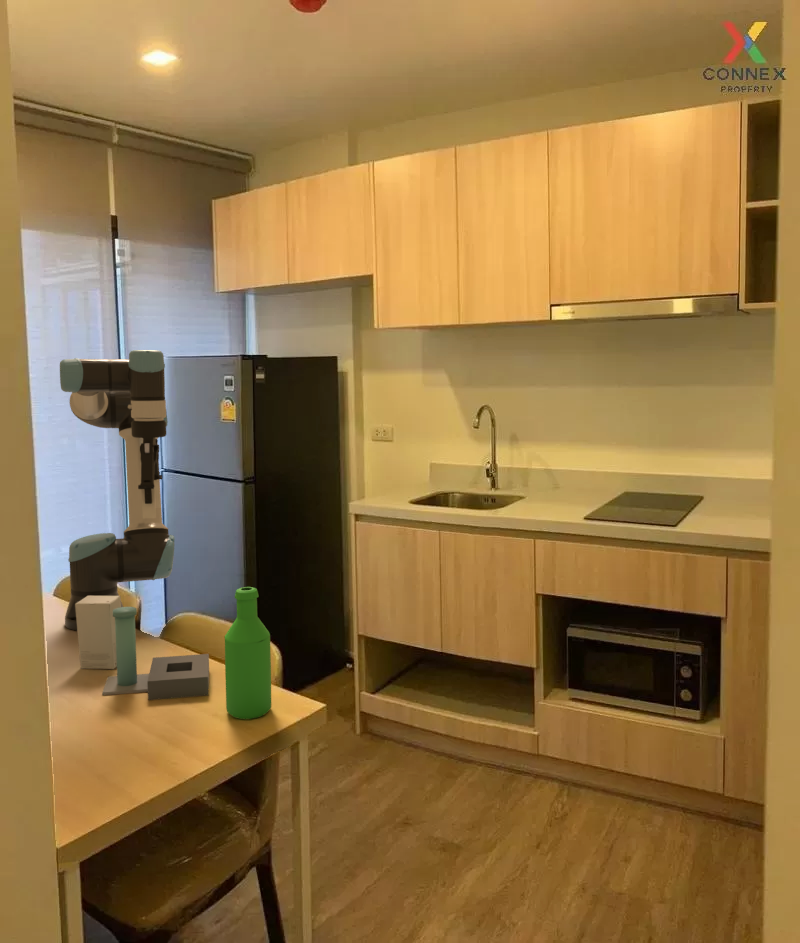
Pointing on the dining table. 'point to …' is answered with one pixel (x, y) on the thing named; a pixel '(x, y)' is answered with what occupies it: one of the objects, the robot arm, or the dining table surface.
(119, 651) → the plug
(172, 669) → the socket block
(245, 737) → the dining table surface
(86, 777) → the dining table surface
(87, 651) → the skincare box
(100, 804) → the dining table surface
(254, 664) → the bottle
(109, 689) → the coaster
